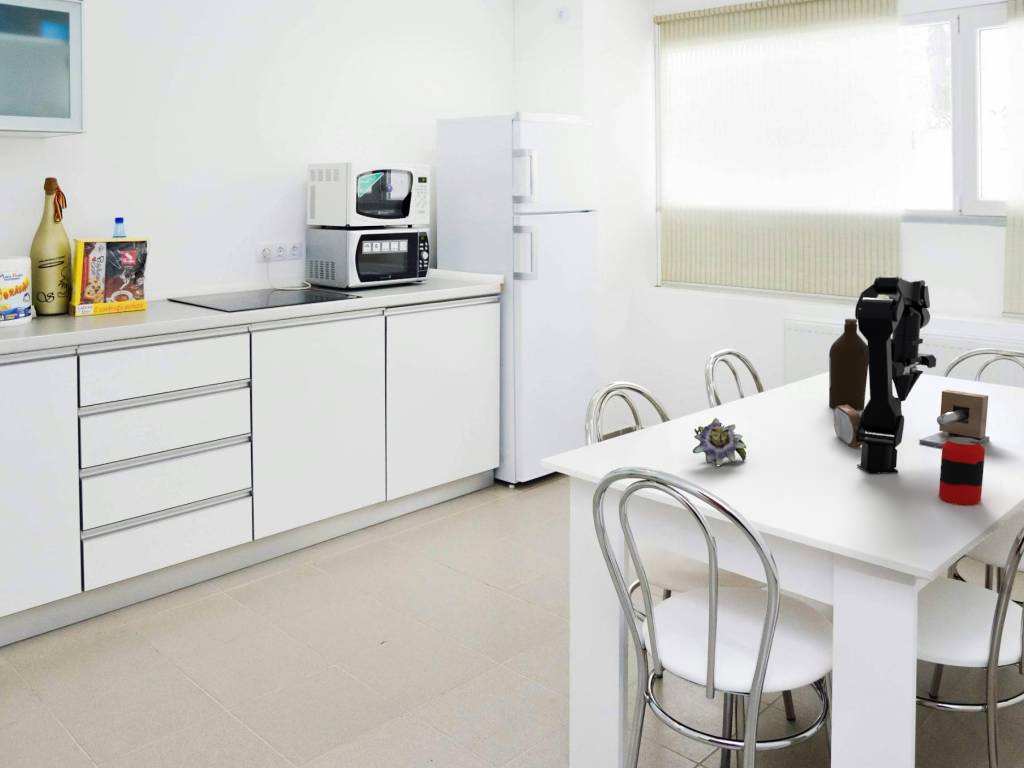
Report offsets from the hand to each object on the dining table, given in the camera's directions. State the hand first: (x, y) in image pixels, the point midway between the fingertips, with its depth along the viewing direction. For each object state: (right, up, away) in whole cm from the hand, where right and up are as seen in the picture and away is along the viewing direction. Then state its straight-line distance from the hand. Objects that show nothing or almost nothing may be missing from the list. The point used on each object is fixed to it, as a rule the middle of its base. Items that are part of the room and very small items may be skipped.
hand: (901, 400), depth 220 cm
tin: (-9, -10, +12) cm, 18 cm away
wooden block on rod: (+19, -8, +11) cm, 23 cm away
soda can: (-2, -19, -33) cm, 38 cm away
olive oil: (+4, -3, +48) cm, 48 cm away
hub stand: (+16, -10, +9) cm, 21 cm away
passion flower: (-43, -14, -3) cm, 46 cm away
